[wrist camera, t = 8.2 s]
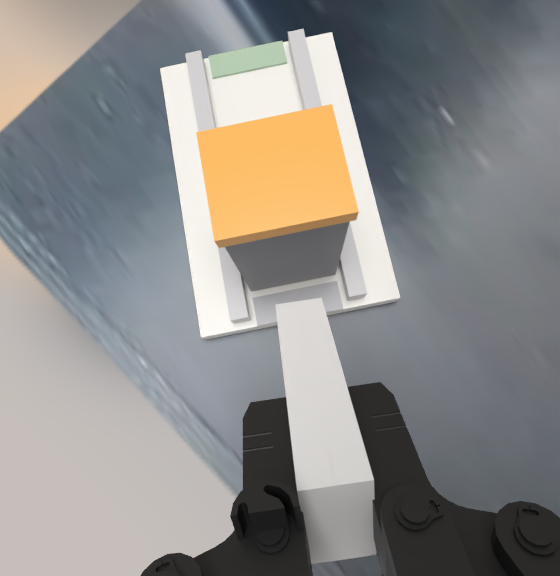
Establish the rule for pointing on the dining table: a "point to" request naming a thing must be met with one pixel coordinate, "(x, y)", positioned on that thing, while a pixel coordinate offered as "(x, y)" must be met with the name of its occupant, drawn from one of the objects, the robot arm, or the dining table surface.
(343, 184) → the handle
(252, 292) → the railed base plate
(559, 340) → the dining table surface
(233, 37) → the dining table surface
